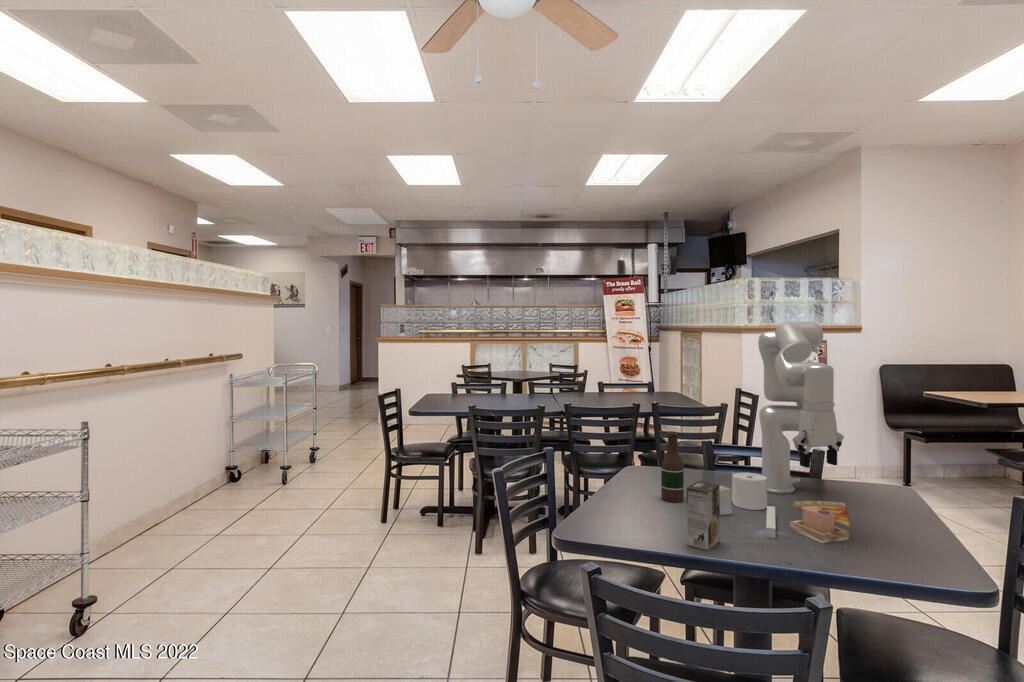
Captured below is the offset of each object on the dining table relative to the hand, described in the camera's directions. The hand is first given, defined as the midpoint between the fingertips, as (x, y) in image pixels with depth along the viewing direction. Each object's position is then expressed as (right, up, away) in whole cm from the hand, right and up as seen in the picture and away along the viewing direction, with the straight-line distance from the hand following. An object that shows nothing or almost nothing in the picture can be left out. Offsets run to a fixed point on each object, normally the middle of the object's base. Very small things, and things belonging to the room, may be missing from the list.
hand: (818, 465), depth 161 cm
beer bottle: (-33, -20, +35) cm, 52 cm away
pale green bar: (-10, -20, +8) cm, 24 cm away
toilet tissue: (-9, -20, +28) cm, 35 cm away
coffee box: (-36, -21, -6) cm, 42 cm away
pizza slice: (+11, -21, +19) cm, 30 cm away
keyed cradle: (0, -20, 0) cm, 20 cm away
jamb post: (-21, -20, +20) cm, 35 cm away
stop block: (0, -19, 0) cm, 19 cm away
